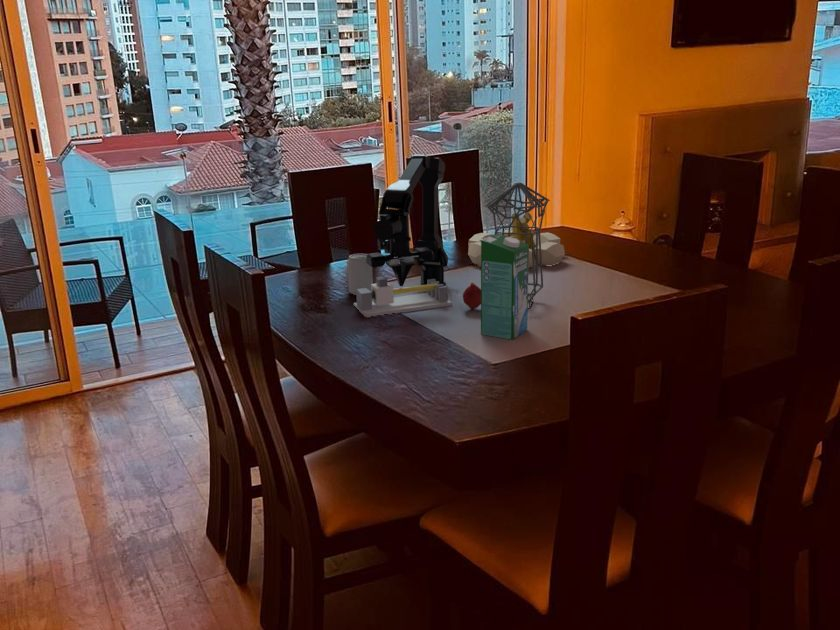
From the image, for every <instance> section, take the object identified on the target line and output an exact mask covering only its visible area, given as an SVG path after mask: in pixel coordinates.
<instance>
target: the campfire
mask: <svg viewBox="0 0 840 630" xmlns="http://www.w3.org/2000/svg"><path fill="white" fill-rule="evenodd" d="M516 214H517V212H516ZM529 214H530V216H531V218H532V219H533V216H532V214H531V213H530V212H529ZM511 216H515V213H512V214H511ZM530 216H529V215H528V213H527V212H526V213H524V214H523V216H522V217H520V216H518V218H519V220H520V221H521V223H522V225H523V226H525V227H530V226H529V222H530V221H532V220H531V218H530ZM513 219H514V218H511V221H512V220H513ZM511 226H521V225H520V223H519V221H518V220H517V218H516V219H515V220H514V222H513V224H512V225H511ZM511 228H512V229H510V233H525V231H524V230H523V228H517V227H511ZM508 230H509V229H504V232H506V233H508ZM525 230H526V231H527V233H530V230H531V228H525ZM534 232H535V231H534V230H533V229H532V231H531V233H534ZM494 234H495V233H488V232H487V233H486V232H479V233H476V234H473V236H472V237H471V238H469V239H468V243H467V244H468V252H467V255H468V256H469V258H470V260H471V262H472V263H474V264H473V265H476V264H477V265H476V266H478V265H479V266H478V267H480V266H481V240H482V239H484V238H487V237H489V236H492V235H494ZM501 235H502V234H501ZM504 236H507V237H508V234H504ZM510 237H512V238H515V239H518V240H519V241H520V242H523V243H525V235H520V234H510ZM540 239H541V256H542V266H543V265H553V264H556V263H558V262H560V263H561V261H562V260H563V258H564V257H565V255H566V254H565V247H564V245H563V244H561V238H560V237H559V236H557V235H556V234H554V233H550V232H540ZM533 242H534V257H536V234H533ZM527 244H528V245H529V269H530V268H533V262H532V242H531V235H527ZM534 264H535V266H536V258H534ZM539 264H540V254H539V237H538V265H539Z"/></svg>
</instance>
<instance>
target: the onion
mask: <svg viewBox="0 0 840 630" xmlns="http://www.w3.org/2000/svg"><path fill="white" fill-rule="evenodd" d="M462 300H463V302H464V304H465V305H466V306H467V307H468V308H469V309H470V310H472V311H473V310H476V309H477V308H478V307H481V287H479V286H478V285H476V284H475V283H474V282H473V281H471V282H470V285H469V286H467V288H466V289H465V290H464V291H463V293H462Z"/></svg>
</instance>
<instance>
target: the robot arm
mask: <svg viewBox="0 0 840 630" xmlns="http://www.w3.org/2000/svg"><path fill="white" fill-rule="evenodd" d="M445 171H446V163H445V161H444V160H443V159H442V158H441V157H433V156H429V155H427V154H417V153H416V154H412V155H411V156H410V159H409V162H408V164H407V166H406V168H405V169H404V171H403V172H402V174H401V175H400V177H399V178H398V180H397V181H396V182H394V183H391V184H390V185H389V186H388V187H387V188H386V189H385V192H384V193H383V195H382V200H381V203H380V207H379V211H378V214H379V220H377V221H376V222H375V224H374V226H373V232H374V233H373V234H374V235H375V236H376V238H377V250H378V251H384V254H385V255H383V254H382V253H381V252H372V253H367V254H368V255H367V256H366V263H367V264H368V265H369V266H371V267H372V268H379V267H384V266H385V265H386V266H388V267H389V268H391V269H392V271H393V273H394V276H395V279H396V281H397V284H398V286H399V287H404V285H405V283H406V279H407V278H408V277H407V276H408V275H409V272H410V271H411V269H412V268H413V266H416V263H415V262H414V261H415V259H416V261H417V266H418V267H419V266H421V269H420V281H419V282H420V284H421V285H427V280H430V279H435V280H436V281H439V284H443V285H444V286H445V285H447V283H446V282H445V273H444V272H445V267H447V266H448V264H449V256H448V255H447V253H446V251H445V249H444V242H443V240H442V238H441V237H440V235H439V186H440V185H441V182H442V181H443V180H444V175H445V174H444V173H445ZM418 183H419V184H420V185H421V187H422V234H421V236H420V238H419V239H418V240H417V241H416V247H415V248H414V250H413V251H411V247H410V246H411V245H410V242H411V240H412V239H411V236H410V217H409V216H410V215H411V208H412V205H413V202H414V195H413V192H414V190H415V187H416V186H417V184H418Z"/></svg>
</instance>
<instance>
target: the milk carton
mask: <svg viewBox="0 0 840 630" xmlns="http://www.w3.org/2000/svg"><path fill="white" fill-rule="evenodd" d="M493 234H494V235H492V236H489V237H487V238H484V239H482V240H481V267H480V289H481V305H480V335H483V336H488V337H495V338H500V339H506V340H512V341H513V340H514V339H516V338H517V337H518V336H520V335H522V332H523V331H524V332H526V331H527V330H528V314H529V313H528V307H529V302H528V299H529V297H528V293H529V285H528V283H529V270H530V268H529V245H528V244H525V243H523V242H520V241H519V240H518V239H515V238H512V237H507V236H504V235H501V234H499V233H496V234H495V233H493ZM526 329H527V330H526ZM525 330H526V331H525ZM524 332H523V333H524Z"/></svg>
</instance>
